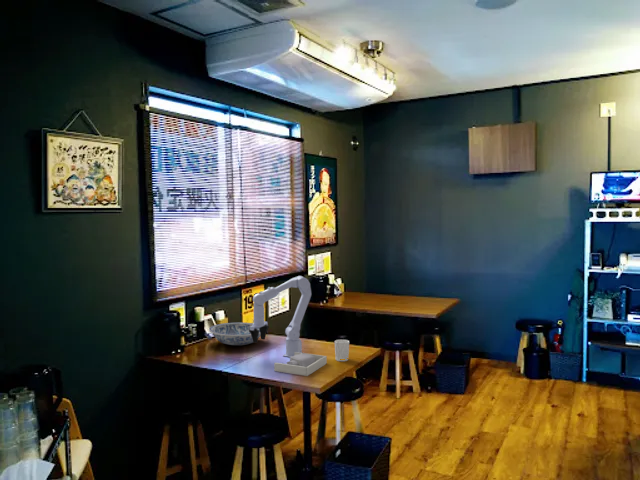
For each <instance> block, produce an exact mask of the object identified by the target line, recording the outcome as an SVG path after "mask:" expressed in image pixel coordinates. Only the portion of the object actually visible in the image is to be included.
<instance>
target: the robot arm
mask: <svg viewBox="0 0 640 480" xmlns="http://www.w3.org/2000/svg"><path fill="white" fill-rule="evenodd" d="M291 288H296V289H297V288H298V290H299V292H300V293H301V296H300V298H299V300H298V301H299V302H298V303H297V306H296V308H295V311H294V315H293V317H292V319H291V321H290V323H289V325H288V326H287V327H286V328H285V330H284V332H285V333H284V334H285V335H286V338H285V353H284V354H282V356H283V357H288V358H290V357H291V356H294V352H299V353H303V352H302V351H303V345H302V344H303V342H302V340H301V338H300V330H301V324H302V321H303V320H304V316H305V313H306V310H307V308H308V306H309V303H310V300H311V297H312V288H311V283H310V280H309V279H308V278H306V277H304V276H302V275H298V276H295V277H292V278H290V279H289V280H287V281H284V283H281V284H280V285H278V286H276V287H274V286H271V287H270V286H268V287H267V289H265V290H262V291H259V293H255V294H254V295H253V297H252V301H253V322H252V323H253V324H252V326H251V327H250V329H249V332H250V333H251V336H252V339H253V343H255V344H256V343H258V339H259V338H258V334H259V331H260V340H263V341H264V340H265V339H266V336H267V333H268V331H269V329H270V327H269V325H268V321H265V303H266V302H269V301H271V300H272V299H274V298H276V297H278V294H279V293H281V292H284V291H286V290H288V289H291ZM257 328H259V330H256V329H257Z"/></svg>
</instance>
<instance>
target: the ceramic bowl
mask: <svg viewBox="0 0 640 480" xmlns="http://www.w3.org/2000/svg"><path fill="white" fill-rule="evenodd" d="M253 323H254V322H241V321H239V322H237V321H236V322H223V323H219V324H214V325H211V326H210V327H208V328H209V329H208V332H209V333H210V334H212V335H213V336H214V337H215V339H216V340H217V341H218V342H219V343H221V344H225V345H229V346H245V345H249V344H253V343H254V342H253V339H252V336H251V333H250V332H249V329H250V327H251V326H252V324H253ZM256 330H259V328H257V329H256ZM259 338H261V336H260V331H259V334H258V339H259Z"/></svg>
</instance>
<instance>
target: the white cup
mask: <svg viewBox="0 0 640 480" xmlns="http://www.w3.org/2000/svg"><path fill="white" fill-rule="evenodd" d="M334 353H335V357H334V358H335V361H337V362H347V361H349V353H350V340H348V339H336V340H334ZM347 358H348V359H347ZM340 359H345V360H340Z"/></svg>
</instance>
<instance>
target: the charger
mask: <svg viewBox="0 0 640 480" xmlns="http://www.w3.org/2000/svg"><path fill="white" fill-rule="evenodd" d="M309 354H310V353H307V354H305V352H302V354H299V355H295V356H291V357H289V361H287V362H286V364H289V365H296V366H303V367H307V366H309V365H311V364H312V363H314V362H315V357H314V356H313V355H309Z"/></svg>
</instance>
